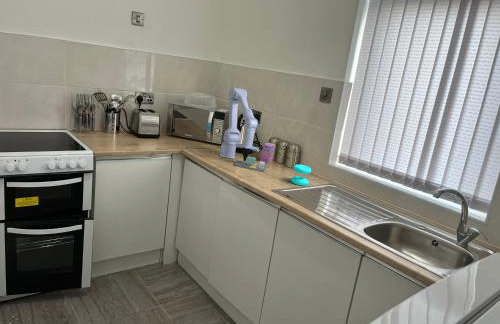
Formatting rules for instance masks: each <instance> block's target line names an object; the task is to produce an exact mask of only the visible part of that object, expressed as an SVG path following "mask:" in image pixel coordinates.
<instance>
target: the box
mask: <svg viewBox="0 0 500 324" xmlns="http://www.w3.org/2000/svg"><path fill="white" fill-rule="evenodd" d="M275 149H276V143H271V142H266V143H263V145H262V150H261V154H260V161H261V162H265V164H267V165H268V164H270V163H271V162H273V158H274V155H275V153H274V152H275ZM260 161H259V162H260Z"/></svg>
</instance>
